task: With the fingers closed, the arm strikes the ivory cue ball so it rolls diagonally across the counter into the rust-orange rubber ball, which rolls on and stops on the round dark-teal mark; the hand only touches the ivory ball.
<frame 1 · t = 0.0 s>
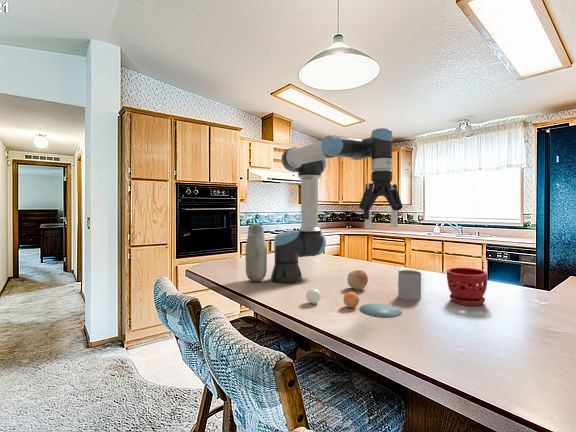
hand: (381, 227, 119), 28 cm above the counter, tool pointing down, fingers open, 13 cm apart
apple: (357, 289, 138), on the counter
teal mark: (380, 310, 110), on the counter
plant pot: (466, 302, 119), on the counter
grey bottle: (256, 281, 153), on the counter
cue ball: (313, 296, 118), on the counter
cup: (409, 297, 125), on the counter
orange ball: (351, 299, 113), on the counter
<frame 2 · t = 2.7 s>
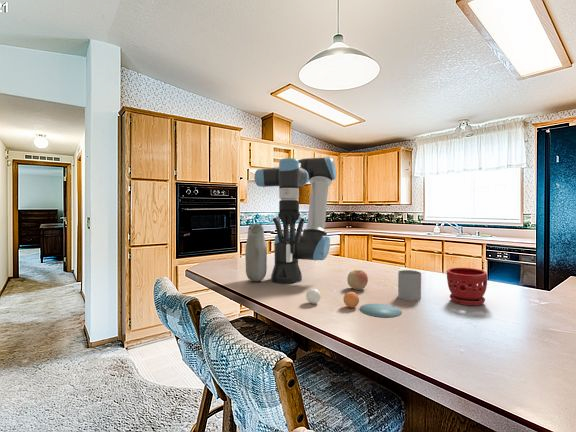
hand: (289, 261, 121), 15 cm above the counter, tool pointing down, fingers closed
nothing on the counter moved.
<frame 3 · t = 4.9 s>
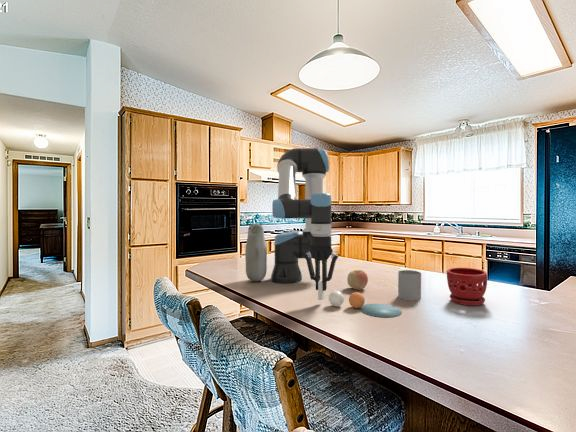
hand: (321, 298, 117), 2 cm above the counter, tool pointing down, fingers closed
cue ball: (336, 298, 114), on the counter
orange ball: (356, 300, 113), on the counter
everything else where it was.
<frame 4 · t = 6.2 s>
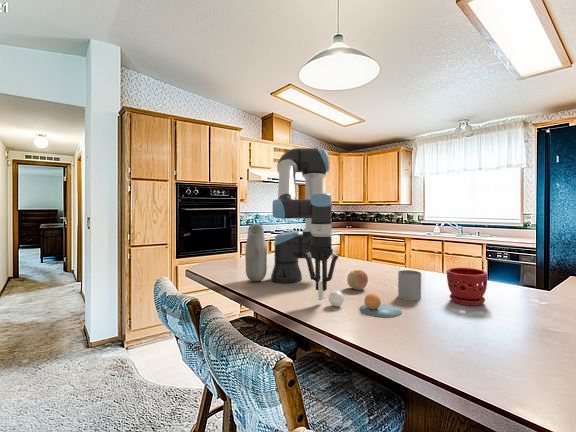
hand: (321, 299, 117), 2 cm above the counter, tool pointing down, fingers closed
orange ball: (372, 301, 111), on the counter
everything else where it was.
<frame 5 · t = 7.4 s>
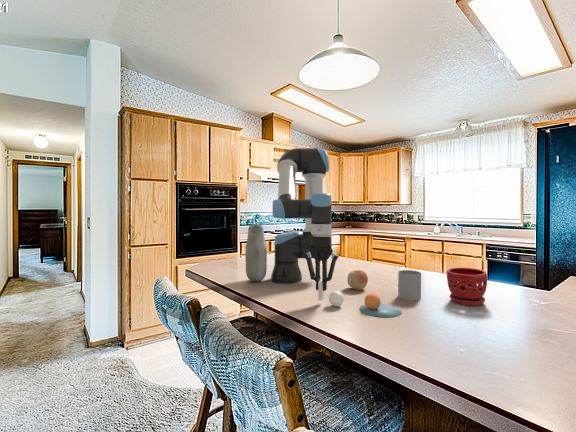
hand: (321, 299, 117), 2 cm above the counter, tool pointing down, fingers closed
nothing on the counter moved.
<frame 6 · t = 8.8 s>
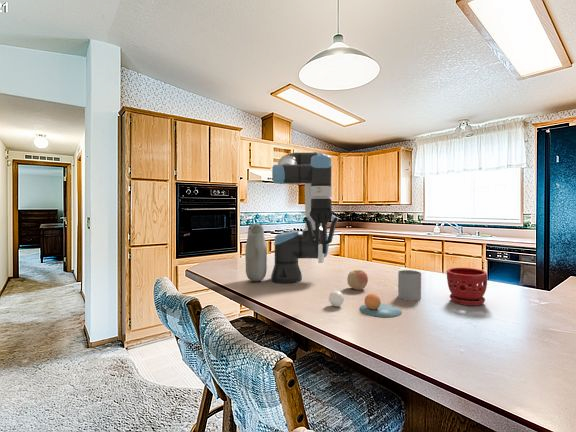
hand: (321, 262, 117), 16 cm above the counter, tool pointing down, fingers closed
nothing on the counter moved.
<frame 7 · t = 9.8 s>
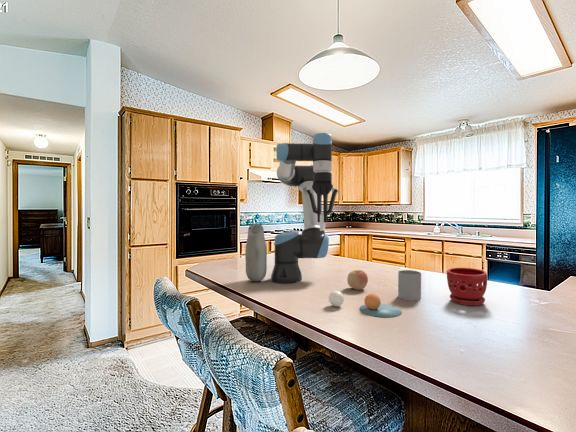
hand: (322, 230, 129), 26 cm above the counter, tool pointing down, fingers closed
nothing on the counter moved.
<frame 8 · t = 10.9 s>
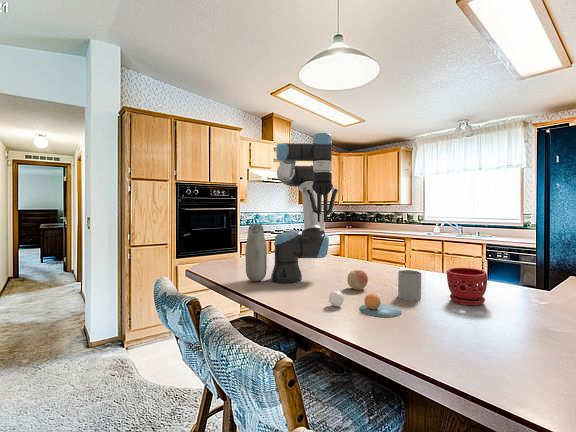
hand: (322, 230, 129), 26 cm above the counter, tool pointing down, fingers closed
nothing on the counter moved.
at the end: orange ball 2.7 cm from the teal mark (horizontally); orange ball never touched the robot; cue ball first touched orange ball at 4.7 s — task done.
